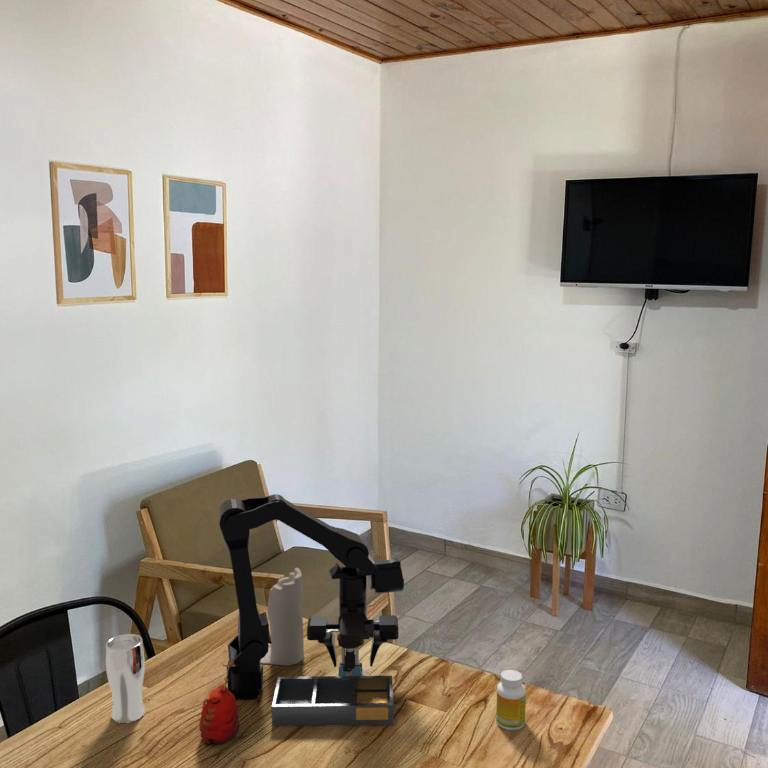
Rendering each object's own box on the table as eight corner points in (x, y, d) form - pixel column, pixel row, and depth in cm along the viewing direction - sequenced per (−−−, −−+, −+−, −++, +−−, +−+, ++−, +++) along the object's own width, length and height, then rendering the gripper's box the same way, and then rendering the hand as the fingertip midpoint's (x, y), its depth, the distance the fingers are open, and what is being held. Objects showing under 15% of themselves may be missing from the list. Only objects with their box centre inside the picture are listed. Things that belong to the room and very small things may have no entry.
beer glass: (154, 709, 152) (151, 637, 150) (129, 729, 146) (125, 654, 144) (127, 701, 155) (123, 630, 153) (101, 720, 149) (96, 646, 147)
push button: (371, 671, 166) (370, 627, 165) (367, 684, 161) (366, 639, 160) (340, 669, 167) (339, 625, 166) (335, 682, 162) (334, 637, 161)
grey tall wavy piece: (247, 646, 177) (244, 562, 174) (307, 650, 175) (305, 565, 172) (237, 662, 170) (234, 575, 167) (299, 666, 168) (297, 578, 165)
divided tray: (271, 727, 147) (271, 707, 146) (278, 695, 157) (278, 676, 157) (393, 725, 147) (393, 706, 146) (391, 694, 158) (392, 675, 157)
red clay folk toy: (206, 723, 148) (203, 649, 146) (243, 724, 148) (241, 649, 145) (196, 748, 140) (192, 670, 138) (235, 748, 140) (232, 671, 138)
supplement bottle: (524, 732, 145) (526, 684, 143) (495, 729, 146) (496, 681, 144) (525, 716, 150) (526, 669, 149) (496, 713, 151) (497, 666, 150)
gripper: (304, 613, 153) (305, 687, 156) (399, 612, 154) (399, 686, 156) (308, 589, 164) (309, 658, 167) (397, 588, 165) (397, 657, 167)
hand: (353, 665), depth 164 cm, fingers open, 7 cm apart
